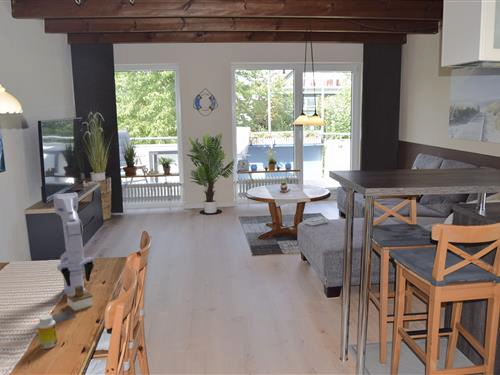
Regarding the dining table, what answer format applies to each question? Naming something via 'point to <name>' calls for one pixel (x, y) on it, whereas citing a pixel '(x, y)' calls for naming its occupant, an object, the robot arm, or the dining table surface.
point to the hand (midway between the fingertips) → (78, 283)
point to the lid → (79, 294)
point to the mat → (63, 316)
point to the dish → (80, 303)
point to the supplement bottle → (47, 332)
